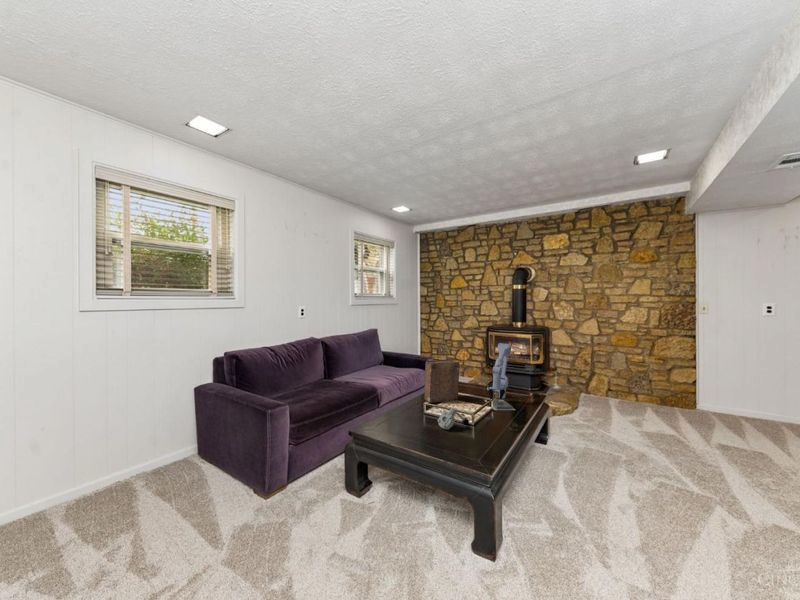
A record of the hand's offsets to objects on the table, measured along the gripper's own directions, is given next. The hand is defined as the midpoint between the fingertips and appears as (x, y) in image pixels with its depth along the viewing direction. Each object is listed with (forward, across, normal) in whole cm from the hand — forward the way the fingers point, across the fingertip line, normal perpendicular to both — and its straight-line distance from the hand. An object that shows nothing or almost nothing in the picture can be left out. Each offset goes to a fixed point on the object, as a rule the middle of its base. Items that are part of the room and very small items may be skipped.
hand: (495, 399), depth 259 cm
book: (+3, -41, +8) cm, 42 cm away
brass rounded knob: (+2, 0, 0) cm, 2 cm away
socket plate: (+3, 0, -6) cm, 7 cm away
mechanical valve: (+3, -45, -43) cm, 62 cm away
